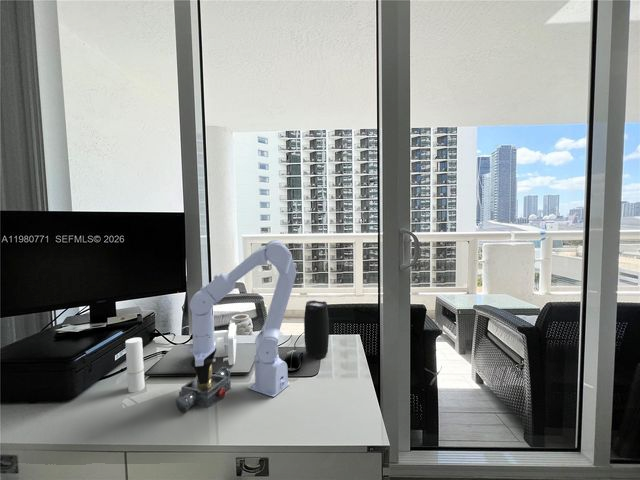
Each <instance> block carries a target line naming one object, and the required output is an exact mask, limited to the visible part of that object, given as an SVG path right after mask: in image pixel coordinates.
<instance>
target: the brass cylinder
mask: <svg viewBox="0 0 640 480" xmlns="http://www.w3.org/2000/svg"><path fill="white" fill-rule="evenodd" d="M212 374H213V363H212V364H211V366H210V370H209V379H208V383H207V384H200V383H199V381H198V377H197V376H196V377H197V388H198V389H201V390H204V389H208V388H210V387H211V386H212V385H213V381H212Z"/></svg>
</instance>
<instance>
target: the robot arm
mask: <svg viewBox="0 0 640 480" xmlns="http://www.w3.org/2000/svg"><path fill="white" fill-rule="evenodd" d="M268 262H269V263H270V264H272V265H273V266H274V267H275V269H276V271H277V272H278V274H279V275H278V278H277V282H276V284H275V289H274V292H273V295H272V299H271V301H270V305H269V308H268V312H267V315H266V318H265V320H264V323H263V325H262V327H261V331H260V332H259V333H258V334H257V335H256V337H255V341H254V342H255V350H256V351H255V355H254V383H253V384H251V385H250V386H248V389H249V390H252V391H254V392H257V393H260V394H263V395H266V396H270V397H272V398H274V397H276V396H277V395H278V394H279V393H281V392H282V391H283V390H285V389H286V388H288V387H289V386H290V382H289V378H288V377H289V376H288V373H289V372H288V364H287V362H286V361H284V360H283V359H281V358H280V355H279V347H278V343H279V340H280V330H281V327H282V323H283V320H284V316H285V314H286V309H287V308H288V307H287V306H288V303H289V300H290V296H291V293H292V290H293V287H294V283H295V280H296V277H297V269H296V265H295V262H294V259H293V255H292V252H291V251H290V250H289V248H288V247H287V246H286V245H285V244H284V243H283V242H281V241H280V240H275V239H274V240H270V241H268V242H267V243H266V245H263V246H261V247H259V248H258V249H256V250H255V251H254V252H252V253H251V254H249V256H248V257H246V258H245V259H244V260H243V261H241V263H239V264H238V265H237V266H236V267H235V268H233V269H232V270H231V271H230V272H229V273H225V272H223V273H219V274H218V273H217V274H216V275H214V276H213V280H212V281H210V282H209V283H207V285H205V286H201V287H200V289H199V291H197V292H195V294H193V296H192V297H191V299H190V302H189V309H190V311H191V315H192V316H191V317H192V319H191V326H192V327H191V330H192V331H191V332H192V347H190V348H189V349H188V353H190V354H193V357H194V359H191V361H190V365H191V367H192V368H193V369H194V371H195V373H196V377H198V381H199V383H200V384H207V383H208V379H209V370H210V366H211V364H212V365H213V363H214V362H213V359H215V357H214V355H215V353H216V348H215V345H214V331H215V330H214V328H215V327H214V326H215V325H214V316H213V305H214V304H217V303H218V302H220V301H221V300H222V299H223V298H224V297H226V296H227V295H228V294H230V293H231V292H232V291H234V289H235V288H236V283H237V282H238V281H239V280H240V279H242V278H243V277H245V276H246V274H248V273H249V272H251V271H252V270H253V269H255V268H257V267H258V266H266V265H268Z"/></svg>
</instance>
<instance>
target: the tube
mask: <svg viewBox="0 0 640 480" xmlns="http://www.w3.org/2000/svg"><path fill="white" fill-rule="evenodd" d="M125 357H126V359H125V360H126V373H127V389H128V390H127V391H128V393H138V392H140V391H142V390H144V389H145V387H146V385H145V368H144V365H145V364H144V351H143V338H142V337H131V338H128V339H126V340H125Z"/></svg>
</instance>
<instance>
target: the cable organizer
mask: <svg viewBox="0 0 640 480" xmlns="http://www.w3.org/2000/svg"><path fill="white" fill-rule="evenodd" d="M237 328H238V326H237V324H236V323H235V322H231V323H229V326H228V329H225V330H224V329H223V330H221V329H220V330H214V345H215V348H216V353H215V355H214V358H213V362H212V363H216V358H223V362H225V361H227V362H228V365H230V366H233V365H235V363H236V354H237ZM232 364H233V365H232Z"/></svg>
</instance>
